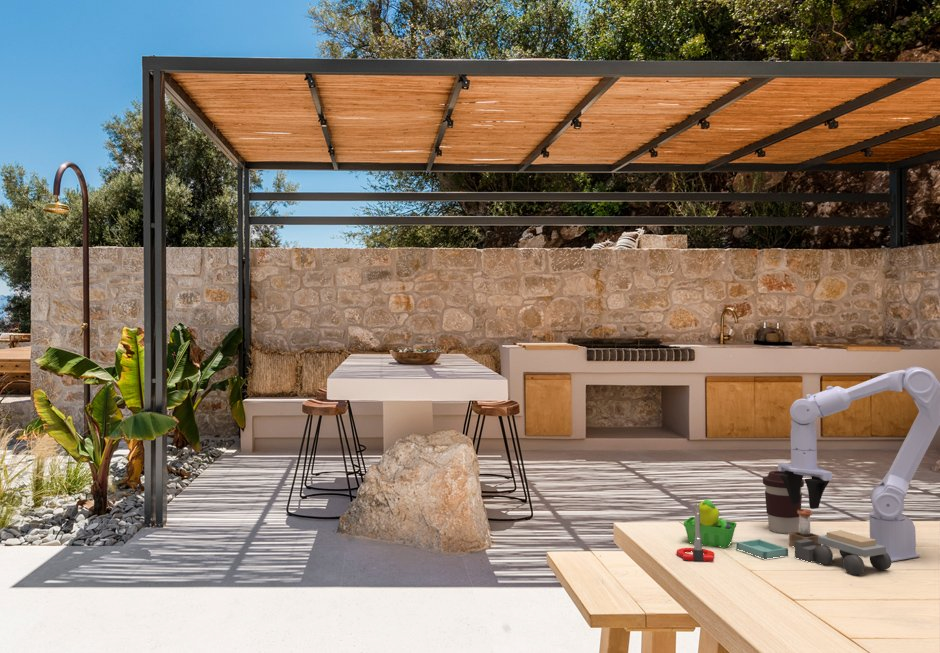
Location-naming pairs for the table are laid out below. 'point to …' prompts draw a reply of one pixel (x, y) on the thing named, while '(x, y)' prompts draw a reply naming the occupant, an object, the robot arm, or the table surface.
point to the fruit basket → (710, 526)
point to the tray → (762, 548)
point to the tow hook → (696, 545)
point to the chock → (804, 549)
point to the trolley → (851, 551)
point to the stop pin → (804, 522)
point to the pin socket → (802, 538)
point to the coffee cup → (780, 504)
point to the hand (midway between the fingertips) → (804, 505)
